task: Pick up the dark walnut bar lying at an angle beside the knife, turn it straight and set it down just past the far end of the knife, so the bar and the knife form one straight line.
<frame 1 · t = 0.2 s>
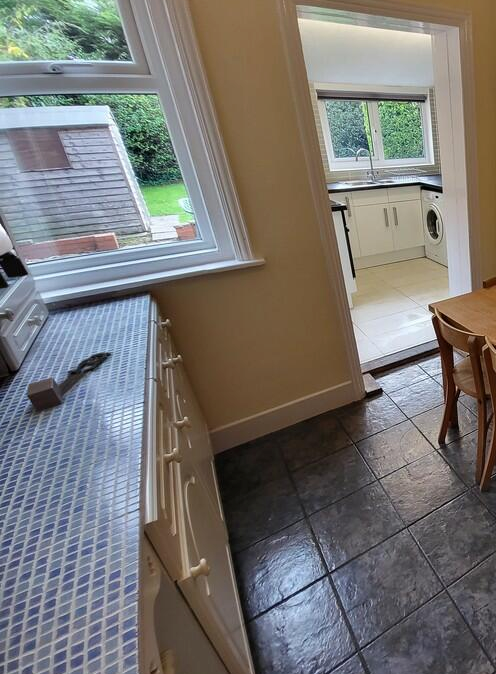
hand: (9, 282, 88), 28 cm above the worktop, tool pointing down, fingers open, 9 cm apart
knife: (81, 379, 106), on the worktop, touching walnut bar
walnut bar: (50, 402, 95), on the worktop, touching knife
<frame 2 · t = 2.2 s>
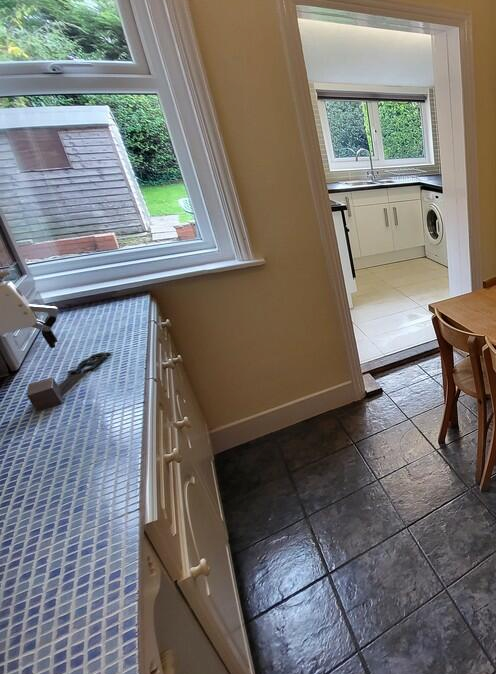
hand: (22, 354, 90), 13 cm above the worktop, tool pointing down, fingers open, 9 cm apart
nothing on the worktop moved.
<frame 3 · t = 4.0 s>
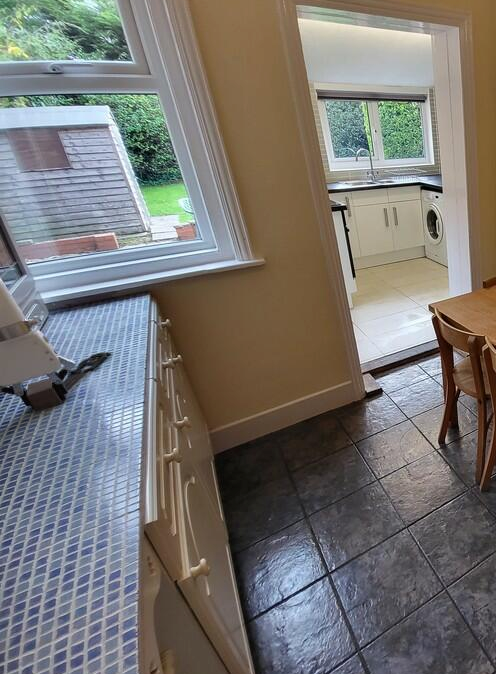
hand: (49, 401, 95), 1 cm above the worktop, tool pointing down, fingers closed on walnut bar, 4 cm apart
walnut bar: (50, 402, 95), on the worktop, touching gripper, knife
everything else where it was.
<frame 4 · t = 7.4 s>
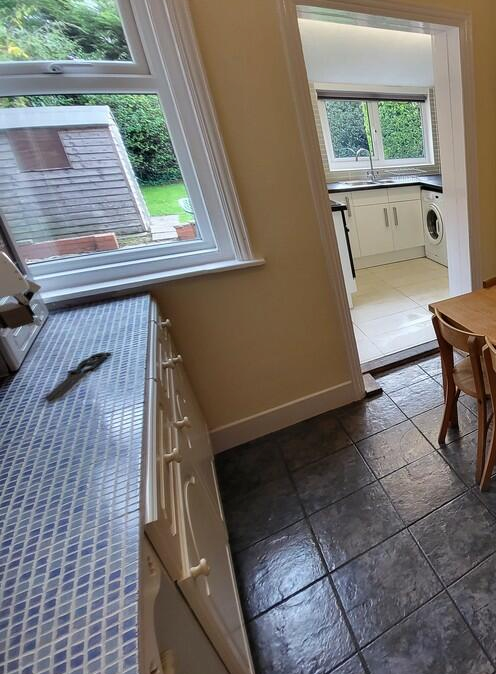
hand: (16, 322, 100), 16 cm above the worktop, tool pointing down, fingers closed on walnut bar, 4 cm apart
knife: (81, 379, 106), on the worktop
walnut bar: (17, 323, 101), point 15 cm above the worktop, touching gripper
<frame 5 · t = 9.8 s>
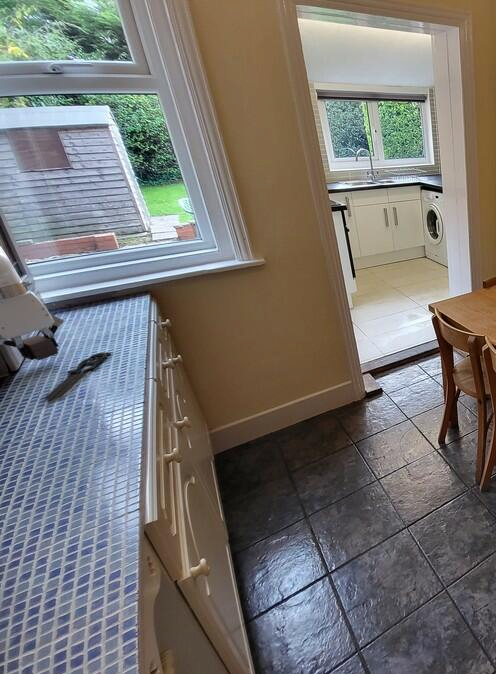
hand: (42, 353, 112), 3 cm above the worktop, tool pointing down, fingers closed on walnut bar, 4 cm apart
walnut bar: (43, 354, 112), point 3 cm above the worktop, touching gripper
everything else where it was.
when the fingers open (0 cm above the worktop, at t = 11.1 s): walnut bar stays where it is, on the worktop.
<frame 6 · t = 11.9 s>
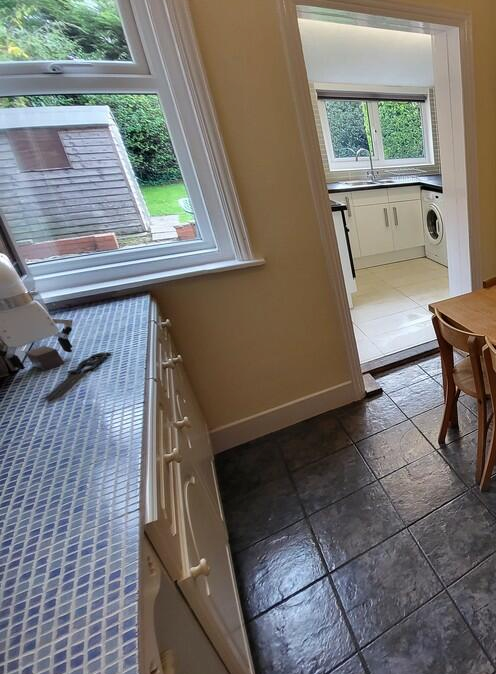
hand: (45, 359, 112), 2 cm above the worktop, tool pointing down, fingers open, 9 cm apart
walnut bar: (49, 364, 113), on the worktop
everything else where it was.
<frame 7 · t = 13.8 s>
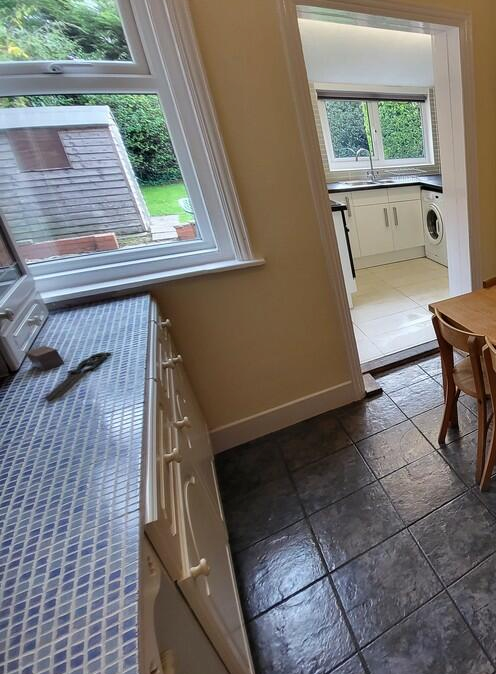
nothing on the worktop moved.
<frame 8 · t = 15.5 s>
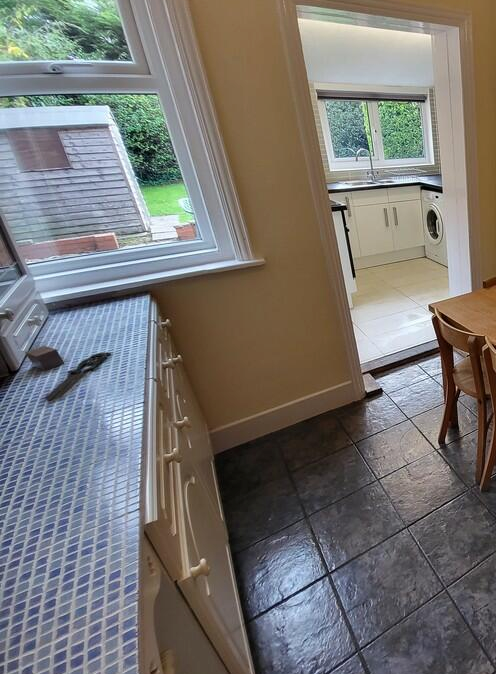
nothing on the worktop moved.
at the end: walnut bar 0.3 cm from the target spot on the worktop beside the knife, on the worktop; walnut bar tilted 0°; knife moved 0.2 cm from its start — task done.
